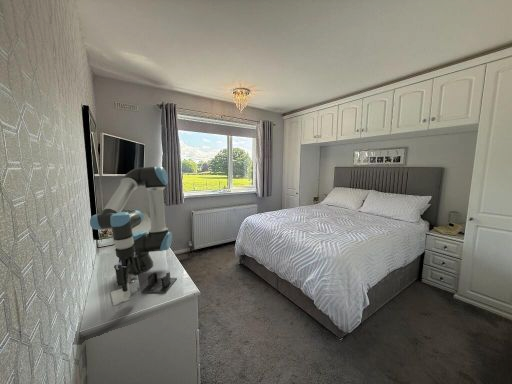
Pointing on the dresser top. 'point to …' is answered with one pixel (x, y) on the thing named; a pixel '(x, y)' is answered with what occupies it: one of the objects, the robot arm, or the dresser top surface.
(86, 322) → the dresser top surface
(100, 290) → the dresser top surface
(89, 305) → the dresser top surface
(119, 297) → the smartphone
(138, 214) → the robot arm
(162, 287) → the dark grey holder
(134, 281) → the cap
